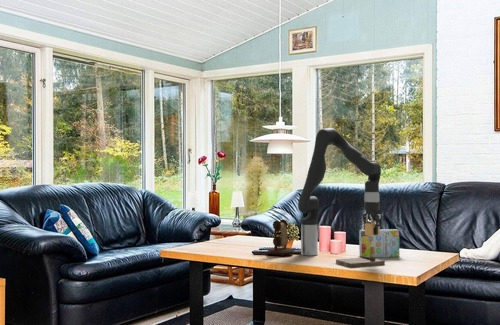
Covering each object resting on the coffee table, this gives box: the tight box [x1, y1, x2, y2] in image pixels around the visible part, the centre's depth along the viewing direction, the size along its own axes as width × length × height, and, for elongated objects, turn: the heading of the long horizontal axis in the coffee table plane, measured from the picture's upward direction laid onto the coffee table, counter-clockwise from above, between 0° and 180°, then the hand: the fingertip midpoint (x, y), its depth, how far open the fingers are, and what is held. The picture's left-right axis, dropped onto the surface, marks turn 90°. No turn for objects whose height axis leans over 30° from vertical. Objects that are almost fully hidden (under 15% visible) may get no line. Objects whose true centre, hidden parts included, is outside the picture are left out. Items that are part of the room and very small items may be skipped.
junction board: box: [335, 246, 386, 269], centre depth 282 cm, size 14×20×9 cm
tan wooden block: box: [364, 223, 381, 236], centre depth 281 cm, size 5×5×6 cm
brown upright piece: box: [267, 219, 294, 258], centre depth 313 cm, size 15×15×20 cm
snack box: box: [358, 228, 400, 258], centre depth 306 cm, size 21×6×15 cm, turn 92°
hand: (372, 234), depth 281 cm, fingers closed on tan wooden block, 5 cm apart
